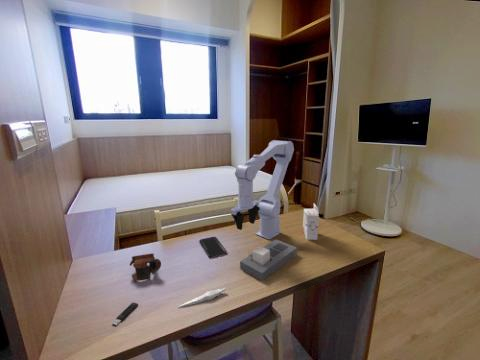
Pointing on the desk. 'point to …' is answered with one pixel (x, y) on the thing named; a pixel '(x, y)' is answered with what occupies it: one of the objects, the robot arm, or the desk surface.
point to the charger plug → (261, 256)
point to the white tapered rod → (205, 297)
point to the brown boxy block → (144, 266)
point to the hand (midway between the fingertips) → (245, 225)
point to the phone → (212, 247)
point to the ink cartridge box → (311, 223)
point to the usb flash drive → (125, 313)
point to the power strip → (278, 257)
